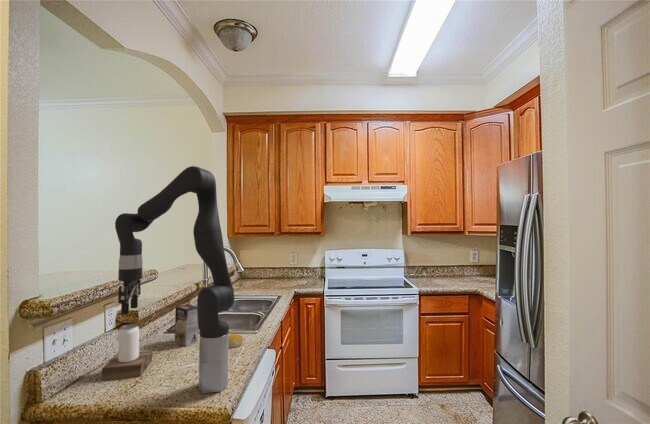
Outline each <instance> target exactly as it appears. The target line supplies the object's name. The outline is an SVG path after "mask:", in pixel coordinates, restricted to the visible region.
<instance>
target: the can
mask: <svg viewBox="0 0 650 424" xmlns="http://www.w3.org/2000/svg"><path fill="white" fill-rule="evenodd" d="M119 328H120V329H119V330H118V343H117V344H118V347H117V348H118V349H117V350H118V351H117V354H118V361H119V362H121V363H127V362H131V361H134V360H136V359H137V358H138V357H139V352H140V327H139V324H138V323H127V324H124V325H122V326H120V327H119Z"/></svg>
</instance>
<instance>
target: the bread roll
mask: <svg viewBox="0 0 650 424" xmlns="http://www.w3.org/2000/svg"><path fill="white" fill-rule="evenodd" d="M243 342H244V338H243V337H242V335H241V334H238V333H237V334H236V333H233V334H231V335H230V334H229V345H228V349H229V348H232V349H233V348H238V347H240V346H241V345H242V344H243Z"/></svg>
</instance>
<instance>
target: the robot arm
mask: <svg viewBox="0 0 650 424" xmlns="http://www.w3.org/2000/svg"><path fill="white" fill-rule="evenodd" d="M188 193H192V194H196V197H197V203H198V212H197V216H196V219H195V222H194V225H193V240H194V246H195V250H196V253H197V254H198V255H199V257H200V259H202V261H203V262H204V263H205V265H206V266H207V267H208V269H209V271H210V274H211V277H212V280H213V281H212V282H213V285H210V286H206V287H203V288H201V289H200V290H199V292H198V294H197V300H196V307H197V315H198V331H199V349H198V350H199V351H198V352H199V354H198V390H199V391H200V392H201V394H210V393H211V394H212V393H219V392H222V391H223V390H224V389H226V387H227V386H228V383H229V348H228V345H229V336H230V334H229V332H230V325H229V323H228V322H226V321H223V320H219V319H220V318H219V314H220V313H221V312H225V311H228V310H230V309H231V308H232V307H233V306H234V303H235V291H234V286H233V282H232V279H231V276H230V273H229V267H228V263H227V257H226V253H225V247H224V240H223V234H222V227H221V223H220V215H219V209H218V201H217V183H216V178H215V176H214V174H213V173H212V172H211V171H209V170H207V169H204V168H201V167H199V166H196V165H195V166H194V165H192V166H188V167H186V168H184V169H183V170H182V171H181V172H180V173H179V174H178V175H177V176H176V177H175V178H174V179H173V180H171V182H169V183H168V184H167V185H166V186H165V187H164V188H163V189H162V190H161V191H160V192H158V193H157V194H156V195H154V196H152V198H149V199H148V200H147V201H145V202H144V203H142V204H140V205H139V206H138V208H137V213H120V214H119V215H118V216H117V217H116V220H115V221H114V227H115V231H116V235H117V239H118V242H119V258H118V275H117V276H118V277H117V279H118V281H120V282H122V285H119V286H118V296H117V297H118V298H117V299H118V300H117V303H118V304H121V311H120V314H121V315H123V316H124V315H128V314H129V313H130V308H131V309H137V308H138V307H139V306H138V305H139V304H138V303H139V302H138V301H139V296H140V295H141V294H142V293H141V289H142V288H141V282H142V278H143V241H142V240H141V239H139V238H135V235H134V233H140V232H143V231H145V230H146V229H148V228H149V226H150V225H151V224H153V222H154V221H155V220H156V219H159V218H160V217H161V216H163V215H164V214H167V212H168V211H169V210H170V209H172V206H173V205H174V202H175V201H176V200H177V199H178V198H179V197H181V196H184V195H186V194H188Z"/></svg>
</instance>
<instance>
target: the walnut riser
mask: <svg viewBox="0 0 650 424" xmlns="http://www.w3.org/2000/svg"><path fill="white" fill-rule="evenodd" d="M152 361H153V350H149V351H139V357H138V358H137V359H136V360H134V361H131V362H127V363H121V362H119V361H118V353H117V354H116V355H115V356H113V358H111V360H109V361H108V363H106V364H105V365H104V366H103V367H102V371H101V380H102V381H103V380H113V379H114V380H116V379H126V378H135V377H136V378H138V377H141V376H142V375H143V374H144V372H145V371H147V370H146V369H148V367H149V366H150V364H151V363H152Z"/></svg>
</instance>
